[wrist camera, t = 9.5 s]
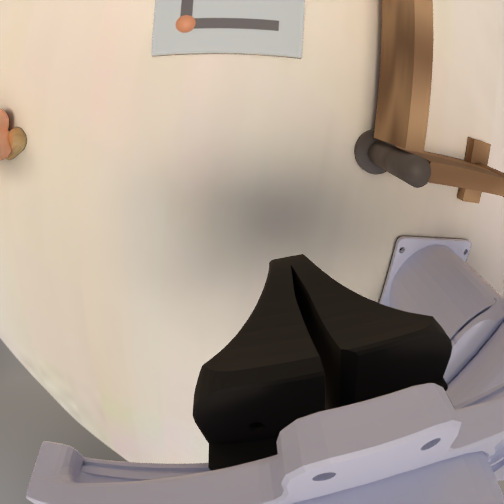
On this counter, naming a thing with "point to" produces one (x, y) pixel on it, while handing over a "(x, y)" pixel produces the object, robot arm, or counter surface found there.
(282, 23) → the card
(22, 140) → the grandmother figurine
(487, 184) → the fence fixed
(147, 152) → the counter surface
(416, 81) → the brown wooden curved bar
